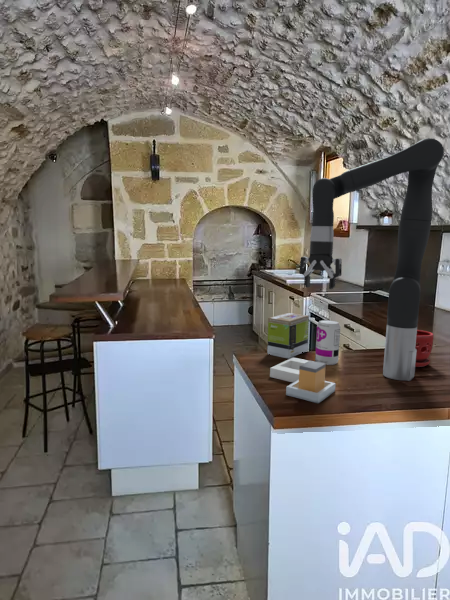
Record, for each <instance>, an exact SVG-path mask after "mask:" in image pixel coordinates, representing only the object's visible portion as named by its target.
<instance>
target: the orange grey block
mask: <svg viewBox="0 0 450 600" xmlns="http://www.w3.org/2000/svg"><path fill="white" fill-rule="evenodd" d="M326 366H327V365H326V364H325V363H320V362H317V361H316V360H315V361H313V360H308V362H306V363H304V364H302V365H300V367H299V387H298V388H299V389H303V390H308V391H312V392H316V393H318V392H319V391H321V390H322V389H324V384H325V381H326V368H327V367H326Z"/></svg>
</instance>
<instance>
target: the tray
mask: <svg viewBox="0 0 450 600" xmlns="http://www.w3.org/2000/svg"><path fill="white" fill-rule="evenodd" d="M298 387H299V380H297V381H295V382H294V383H293V382H291V383H290V384H289V385H287V386H286V388H285V389H286V390H285V391H286V392H285V395H286V396H289V397H293V398H296V399H300V400H305V401H308V402H310V403H311V402H312V403H315V404H320V403H321V402H322V401H324V400H325V399H327V398H328V397H330V396H331V395H332V394H334V392H336V382H332V381H327V380H325V384H324V389H322V390H321V391H319V392H318V393H316V392H312V391H308V390H303V389H299V388H298Z"/></svg>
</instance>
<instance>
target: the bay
mask: <svg viewBox="0 0 450 600" xmlns="http://www.w3.org/2000/svg"><path fill="white" fill-rule="evenodd" d="M308 361H309V360H307V359H302V358H298V357H295V356H294V357H291V358H289V359H288V358H287V360H284V361H282V362H280V363H278V364H275V365H274V366H272V367H269V369H270V370H269V377H270V378H274V379H278V380H281V381H285V382H289V383H294V382H295V381H297V380H299V367H300V365H302V364H304V363H306V362H308Z"/></svg>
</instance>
